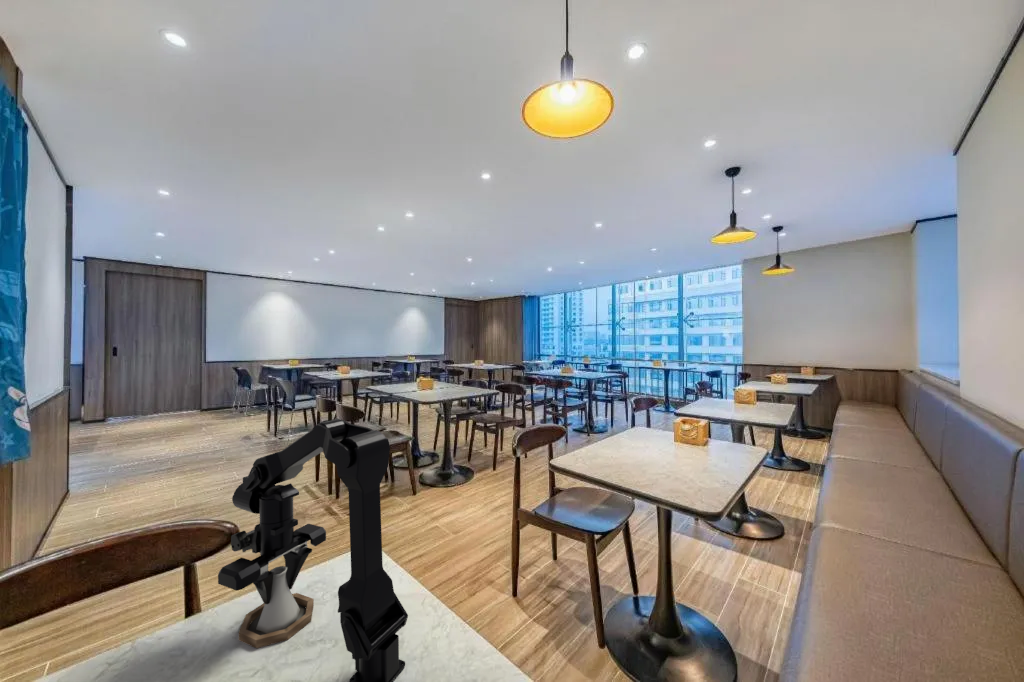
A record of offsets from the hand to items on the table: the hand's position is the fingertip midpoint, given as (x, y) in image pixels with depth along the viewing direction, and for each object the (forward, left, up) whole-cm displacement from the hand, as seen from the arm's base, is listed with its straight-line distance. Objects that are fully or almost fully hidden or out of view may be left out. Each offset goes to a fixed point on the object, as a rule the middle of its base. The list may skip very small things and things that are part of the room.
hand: (278, 595), depth 76 cm
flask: (0, 0, -5) cm, 5 cm away
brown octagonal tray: (0, 0, -5) cm, 5 cm away
